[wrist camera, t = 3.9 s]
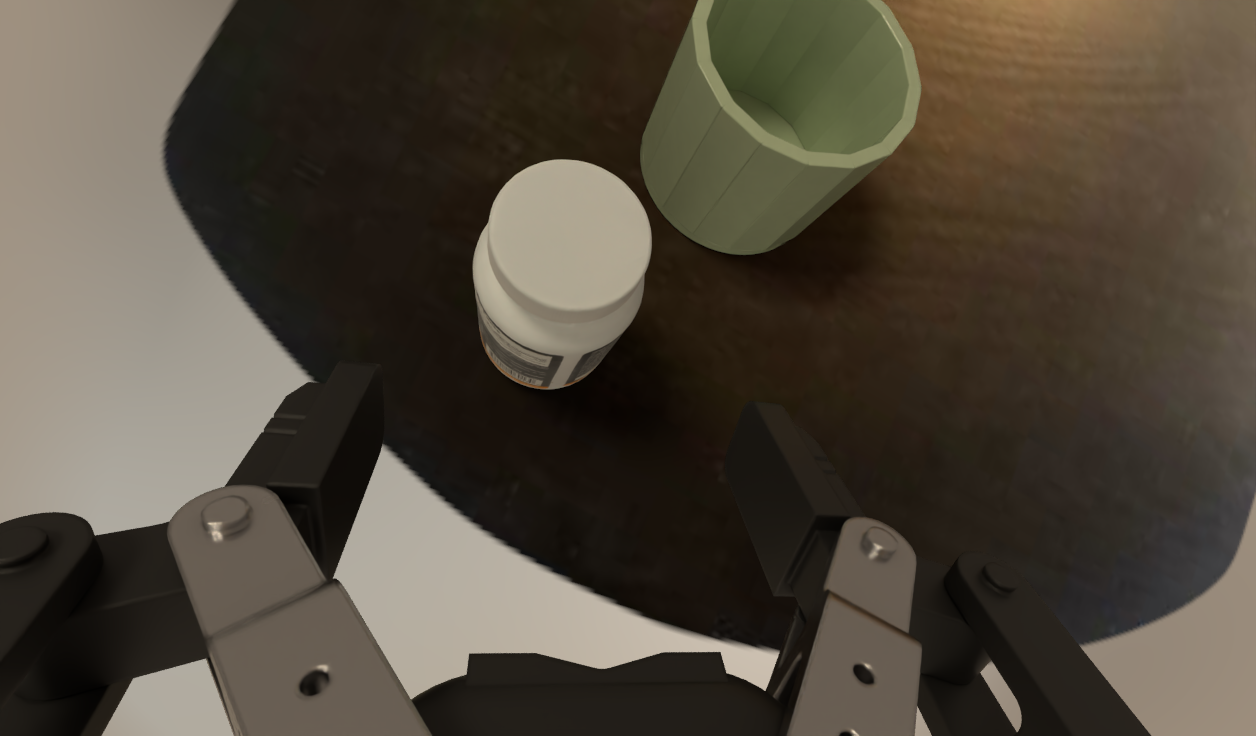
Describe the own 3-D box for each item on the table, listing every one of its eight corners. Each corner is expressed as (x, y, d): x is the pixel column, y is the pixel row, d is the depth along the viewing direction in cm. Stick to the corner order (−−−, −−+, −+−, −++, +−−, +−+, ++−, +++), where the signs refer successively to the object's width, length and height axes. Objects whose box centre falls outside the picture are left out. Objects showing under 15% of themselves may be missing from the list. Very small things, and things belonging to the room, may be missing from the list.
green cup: (614, 209, 27) (662, 97, 20) (670, 59, 30) (730, -90, 22) (792, 283, 29) (899, 206, 21) (829, 133, 31) (936, 17, 24)
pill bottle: (584, 259, 26) (635, 126, 17) (622, 374, 25) (698, 301, 16) (463, 286, 25) (444, 155, 15) (499, 409, 24) (503, 351, 14)
